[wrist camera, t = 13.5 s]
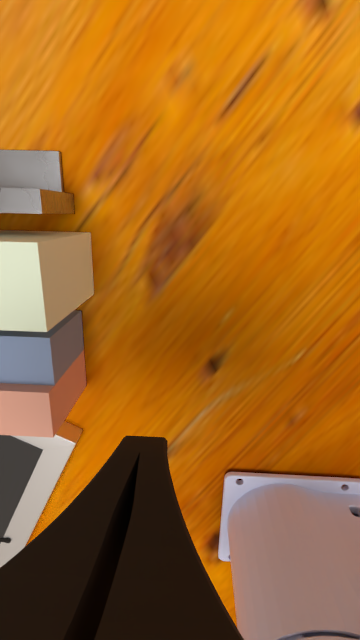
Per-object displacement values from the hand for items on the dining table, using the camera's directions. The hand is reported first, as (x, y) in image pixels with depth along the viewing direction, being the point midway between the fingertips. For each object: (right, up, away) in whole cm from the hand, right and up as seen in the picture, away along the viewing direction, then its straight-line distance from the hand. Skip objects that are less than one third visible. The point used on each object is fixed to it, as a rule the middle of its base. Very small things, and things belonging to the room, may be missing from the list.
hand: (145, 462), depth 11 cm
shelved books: (-8, +3, +10) cm, 13 cm away
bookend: (-8, +12, +7) cm, 16 cm away
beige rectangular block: (-7, +8, +8) cm, 13 cm away
